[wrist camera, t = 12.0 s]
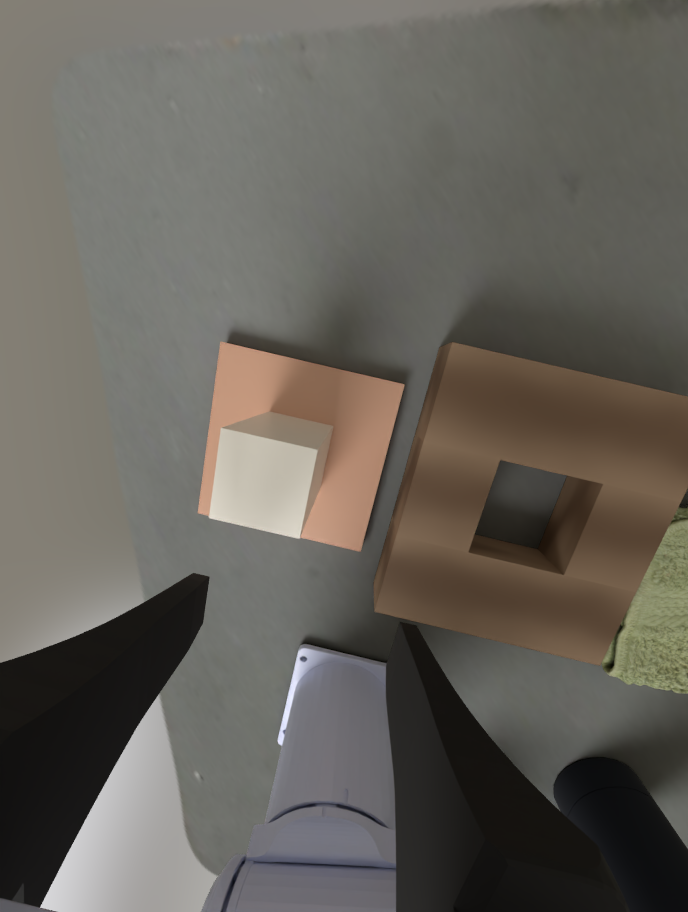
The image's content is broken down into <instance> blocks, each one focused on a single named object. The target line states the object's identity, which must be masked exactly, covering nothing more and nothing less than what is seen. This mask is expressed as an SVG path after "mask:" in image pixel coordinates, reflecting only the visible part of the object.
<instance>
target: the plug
mask: <svg viewBox="0 0 688 912" xmlns="http://www.w3.org/2000/svg"><path fill="white" fill-rule="evenodd" d="M333 427H334V426H332V425H327V424H323V423H318V422H314V421H309V420H305V419H301V418H296V417H292V416H287V415H283V414H279V413H274V412H270V411H269V412H266V413H263V414H260V415H257V416H254V417H251V418H248V419H245V420H242V421H239V422H236V423H233V424H230V425H228V426H225V427H222V428H221V431H220V438H219V446H218V453H217V461H216V468H215V476H214V483H213V491H212V498H211V506H210V513H209V518H211V519H216V520H220V521H224V522H229V523H233V524H237V525H242V526H246V527H250V528H255V529H259V530H263V531H268V532H272V533H276V534H281V535H285V536H289V537H294V538H298V539H300V536H301V534H302V532H303V529H304V527H305V524H306V522H307V519H308V517H309V515H310V512H311V510H312V507H313V505H314V502H315V500H316V497H317V495H318V493H319V490H320V488H321V483H322V478H323V474H324V469H325V464H326V460H327V455H328V450H329V446H330V441H331V436H332V431H333Z"/></svg>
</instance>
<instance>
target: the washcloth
mask: <svg viewBox="0 0 688 912" xmlns="http://www.w3.org/2000/svg"><path fill="white" fill-rule="evenodd" d="M601 664H602V667H603V669H604V671H605V672H606V673H607V674H608V675H610V676H614V677H618V678H619V679H620V680H622V681H623V682H625V683H626V684H627V685H629V684H633V683H635V684H636V685H639V686H641V685H644V684H645V685H648V686H650V687H653V688H655V689H664V690H672V691H674V692H675V693H683V694H684V693H688V507H687V508H681V507H678V509H677V511H676V513H675V515H674V517H673V519H672V521H671V523H670V525H669V527H668V529H667V531H666V533H665V535H664V537H663V539H662V541H661V543H660V545H659V547H658V549H657V551H656V553H655V555H654V557H653V559H652V561H651V564H650V566H649V568H648V570H647V572H646V574H645V576H644V578H643V580H642V582H641V584H640V586H639V588H638V590H637V592H636V594H635V596H634V598H633V600H632V602H631V604H630V606H629V608H628V610H627V612H626V614H625V616H624V618H623V620H622V622H621V624H620V626H619V628H618V630H617V632H616V634H615V636H614V638H613V640H612V642H611V644H610V646H609V648H608V650H607V652H606V654H605V657H604V659H603V661H602V663H601Z"/></svg>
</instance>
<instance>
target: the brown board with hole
mask: <svg viewBox="0 0 688 912" xmlns="http://www.w3.org/2000/svg"><path fill="white" fill-rule="evenodd" d="M500 460H503V461H507V462H511V463H516V464H520V465H524V466H528V467H533V468H537V469H541V470H545V471H550V472H554V473H558V474H562V475H567V478H566V480H565V483H564V485H563V488H562V490H561V493H560V495H559V498H558V500H557V503H556V505H555V508H554V510H553V513H552V515H551V517H550V520H549V522H548V525H547V527H546V530H545V532H544V535H543V537H542V540H541V542H540V545H539V547H538V549H534V548H530V547H526V546H522V545H518V544H513V543H509V542H505V541H501V540H496V539H492V538H488V537H484V536H480V535H475V531H476V528H477V526H478V523H479V520H480V517H481V514H482V511H483V508H484V505H485V503H486V500H487V497H488V494H489V491H490V488H491V485H492V482H493V480H494V477H495V474H496V471H497V468H498V465H499V462H500ZM687 489H688V397H687V396H683V395H678V394H674V393H670V392H665V391H661V390H657V389H653V388H648V387H644V386H640V385H635V384H631V383H627V382H622V381H618V380H614V379H609V378H605V377H601V376H596V375H592V374H588V373H584V372H579V371H575V370H571V369H566V368H562V367H558V366H553V365H549V364H545V363H540V362H536V361H532V360H527V359H523V358H519V357H515V356H510V355H506V354H502V353H497V352H493V351H489V350H484V349H480V348H476V347H471V346H467V345H463V344H458V343H454V342H451V343H449V344H446V345H444V346H442V347H439V351H438V354H437V358H436V361H435V365H434V368H433V372H432V375H431V379H430V383H429V386H428V390H427V393H426V397H425V400H424V404H423V408H422V411H421V415H420V418H419V422H418V425H417V429H416V433H415V436H414V440H413V443H412V447H411V450H410V454H409V457H408V461H407V465H406V468H405V472H404V475H403V479H402V482H401V486H400V490H399V493H398V497H397V500H396V504H395V507H394V511H393V515H392V518H391V522H390V525H389V529H388V532H387V536H386V539H385V543H384V547H383V550H382V554H381V557H380V561H379V564H378V568H377V572H376V575H375V579H374V582H373V586H374V610H375V612H378V613H382V614H386V615H390V616H394V617H398V618H403V619H407V620H411V621H415V622H419V623H424V624H428V625H432V626H436V627H440V628H444V629H449V630H453V631H457V632H461V633H465V634H470V635H474V636H478V637H482V638H486V639H490V640H495V641H499V642H503V643H507V644H511V645H516V646H520V647H524V648H528V649H532V650H536V651H541V652H545V653H549V654H553V655H557V656H561V657H566V658H570V659H574V660H578V661H582V662H587V663H591V664H595V665H599V666H600V665H601V663H602V661H603V659H604V657H605V654H606V652H607V650H608V648H609V646H610V644H611V642H612V640H613V638H614V636H615V634H616V632H617V630H618V628H619V626H620V624H621V622H622V620H623V618H624V616H625V614H626V612H627V610H628V608H629V606H630V604H631V602H632V600H633V598H634V596H635V594H636V592H637V590H638V588H639V586H640V584H641V582H642V580H643V578H644V576H645V574H646V572H647V570H648V568H649V566H650V564H651V561H652V559H653V557H654V555H655V553H656V551H657V549H658V547H659V545H660V543H661V541H662V539H663V537H664V535H665V533H666V531H667V529H668V527H669V525H670V523H671V521H672V519H673V517H674V515H675V513H676V511H677V509H678V507H679V505H680V503H681V501H682V499H683V497H684V495H685V493H686V491H687Z"/></svg>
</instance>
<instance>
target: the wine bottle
mask: <svg viewBox="0 0 688 912" xmlns="http://www.w3.org/2000/svg"><path fill="white" fill-rule="evenodd" d="M554 798H555V800H556V802H557V805H558V807H559V809H560V811H561V813H563V814H564V815H565V816H566V817H567V818H568V819H569V820H570V821H571V822H573V823H574V824H575V825H576V826H577V827H578V828H579V829H580V830H581V831H582V832H584V833H585V834H586V835H587V836H588V837H589V838H590V839H591V840H592V841H594V842H595V843H596V844H597V845H598V847H599V849H600V851H601V853H602V854H603V856H604V858H605V860H606V862H607V864H608V866H609V868H610V870H611V872H612V874H613V876H614V878H615V880H616V882H617V884H618V886H619V888H620V890H621V892H622V894H623V896H624V899H625V901H626V903H627V905H628V908H629V910H630V912H688V849H687V847H686V846H685V844H684V843H683V842H682V840H681V839H680V837H679V836H678V834H677V833H676V831H675V830H674V828H673V827H672V826H671V824H670V823H669V821H668V820H667V818H666V817H665V815H664V814H663V812H662V811H661V810H660V808H659V807H658V805H657V804H656V802H655V801H654V799H653V798H652V796H651V795H650V793H649V792H648V791H647V789H646V788H645V786H644V785H643V783H642V782H641V780H640V779H639V777H638V776H637V775H636V774H635V773H634V772H633V771H632V770H631V768H630V767H629V766H627V765H625V764H623V763H621V762H619V761H617V760H612V759H607V758H589V759H585V760H582V761H578V762H576V763H574V764H572V765H570V766H569V767H567V768H565V769H564V770H563V771H562V773H561V774H560V775H559V776H558V777H557V780H556V782H555V784H554Z"/></svg>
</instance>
